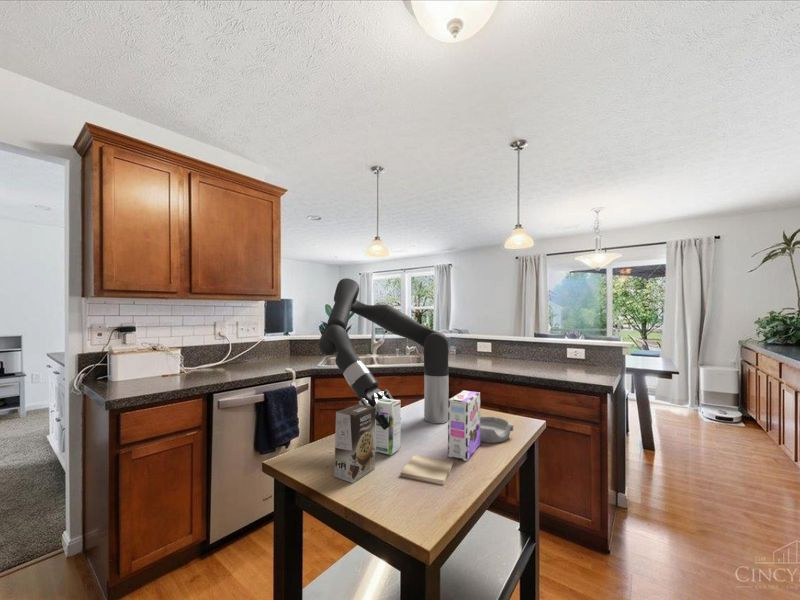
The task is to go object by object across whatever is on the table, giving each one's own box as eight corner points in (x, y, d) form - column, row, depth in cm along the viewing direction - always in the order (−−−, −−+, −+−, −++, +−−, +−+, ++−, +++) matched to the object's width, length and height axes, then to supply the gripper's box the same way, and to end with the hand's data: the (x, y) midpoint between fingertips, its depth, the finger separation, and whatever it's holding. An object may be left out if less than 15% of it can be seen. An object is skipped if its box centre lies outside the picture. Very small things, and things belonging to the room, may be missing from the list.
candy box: (467, 462, 91) (467, 401, 92) (447, 457, 94) (447, 398, 95) (481, 445, 103) (481, 391, 104) (462, 441, 106) (462, 389, 107)
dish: (516, 435, 112) (516, 420, 112) (499, 448, 101) (499, 432, 101) (477, 426, 121) (477, 412, 121) (457, 437, 111) (457, 421, 111)
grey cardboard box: (353, 484, 79) (354, 415, 80) (333, 477, 83) (334, 411, 83) (376, 469, 87) (376, 406, 88) (356, 463, 90) (357, 403, 91)
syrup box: (374, 451, 97) (374, 401, 97) (384, 444, 102) (384, 396, 103) (391, 455, 94) (391, 404, 95) (401, 448, 99) (401, 399, 100)
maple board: (414, 458, 93) (414, 454, 93) (453, 465, 90) (453, 461, 90) (400, 476, 83) (400, 472, 83) (443, 484, 79) (443, 480, 79)
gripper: (367, 382, 111) (397, 424, 105) (338, 391, 99) (371, 440, 93) (380, 368, 109) (412, 410, 102) (353, 375, 96) (387, 424, 90)
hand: (392, 424), depth 98 cm, fingers closed on syrup box, 6 cm apart
